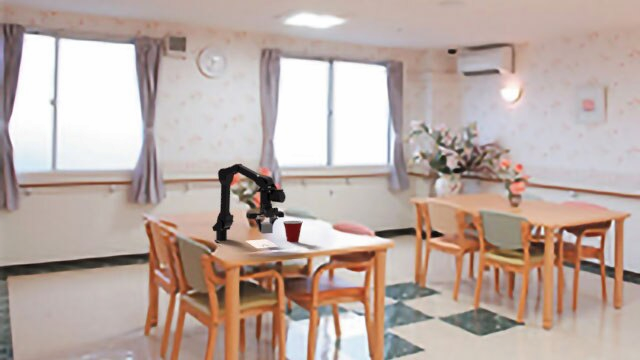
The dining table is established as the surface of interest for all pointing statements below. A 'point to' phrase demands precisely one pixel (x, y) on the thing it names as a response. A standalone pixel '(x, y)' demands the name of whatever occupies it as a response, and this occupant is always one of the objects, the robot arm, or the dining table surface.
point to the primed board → (262, 243)
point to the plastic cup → (292, 230)
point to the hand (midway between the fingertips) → (265, 231)
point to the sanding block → (266, 227)
